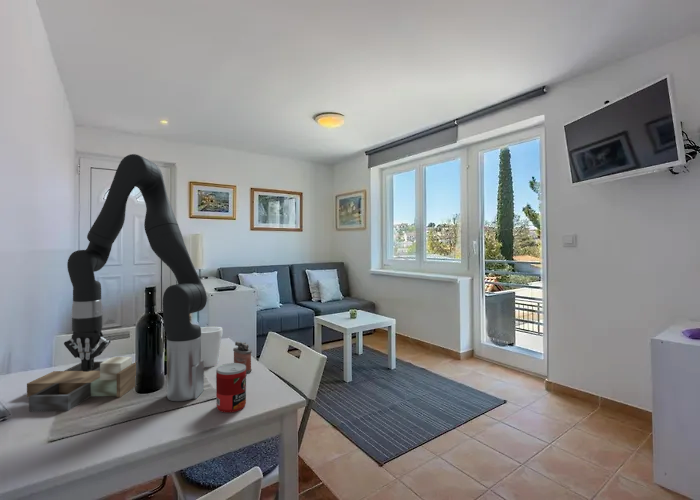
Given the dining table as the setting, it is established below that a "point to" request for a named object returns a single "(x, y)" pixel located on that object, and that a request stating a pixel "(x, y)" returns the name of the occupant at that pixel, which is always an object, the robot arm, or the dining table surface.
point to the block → (113, 367)
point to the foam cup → (210, 345)
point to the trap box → (76, 387)
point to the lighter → (243, 355)
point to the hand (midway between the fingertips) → (87, 370)
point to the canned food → (231, 387)
